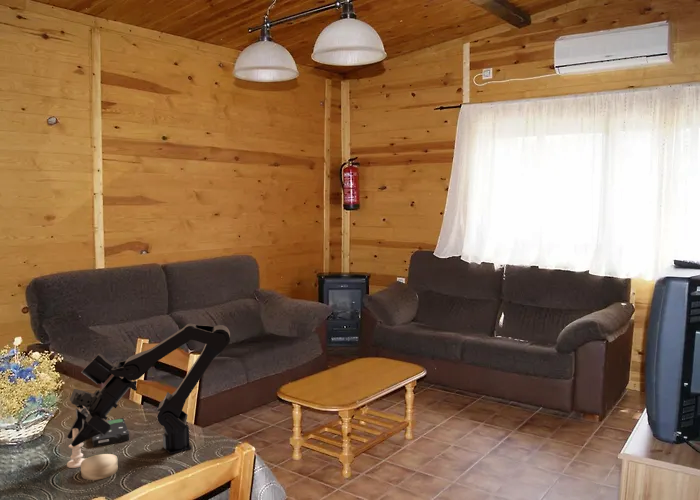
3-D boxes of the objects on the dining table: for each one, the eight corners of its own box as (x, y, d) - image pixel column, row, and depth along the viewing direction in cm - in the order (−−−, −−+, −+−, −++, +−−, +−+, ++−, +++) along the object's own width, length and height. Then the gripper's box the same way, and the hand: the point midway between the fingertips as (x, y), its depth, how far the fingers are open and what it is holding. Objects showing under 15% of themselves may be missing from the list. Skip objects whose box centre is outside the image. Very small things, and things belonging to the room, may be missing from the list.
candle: (90, 459, 170) (88, 423, 169) (83, 467, 165) (80, 430, 164) (71, 459, 170) (69, 423, 169) (63, 468, 165) (61, 431, 164)
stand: (113, 461, 169) (112, 451, 168) (121, 473, 161) (121, 462, 161) (78, 470, 164) (77, 459, 163) (85, 483, 156) (84, 471, 156)
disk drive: (130, 442, 183) (123, 425, 196) (130, 433, 183) (123, 416, 196) (93, 449, 179) (89, 431, 192) (92, 440, 178) (88, 422, 191)
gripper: (81, 370, 175) (41, 415, 170) (95, 387, 160) (51, 437, 155) (111, 391, 181) (73, 436, 175) (127, 409, 165) (86, 459, 160)
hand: (70, 441), depth 166 cm, fingers open, 6 cm apart
